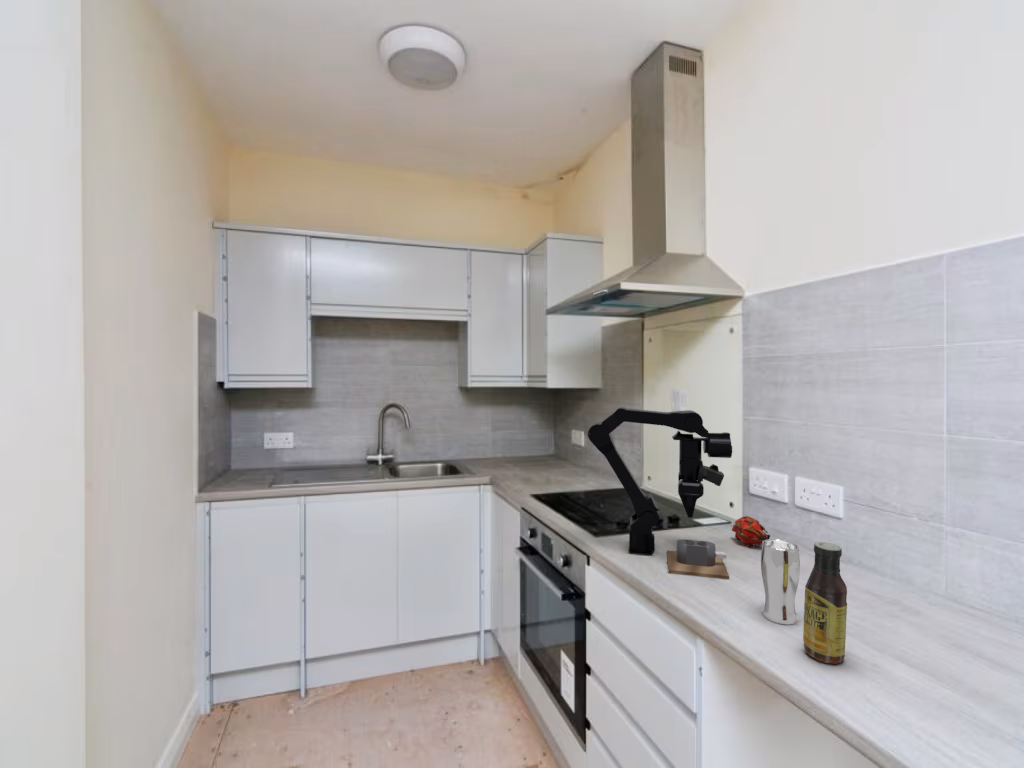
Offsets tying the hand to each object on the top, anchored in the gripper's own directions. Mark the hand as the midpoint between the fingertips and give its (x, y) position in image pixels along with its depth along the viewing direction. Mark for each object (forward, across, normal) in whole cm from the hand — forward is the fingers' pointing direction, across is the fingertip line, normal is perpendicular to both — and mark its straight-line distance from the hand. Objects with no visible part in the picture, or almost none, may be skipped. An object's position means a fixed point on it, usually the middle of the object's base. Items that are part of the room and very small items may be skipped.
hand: (689, 512), depth 132 cm
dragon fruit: (+12, +15, -17) cm, 25 cm away
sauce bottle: (+12, -43, -22) cm, 50 cm away
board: (+12, -7, -1) cm, 14 cm away
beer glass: (+12, -30, -17) cm, 37 cm away
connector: (+11, -7, -3) cm, 13 cm away
